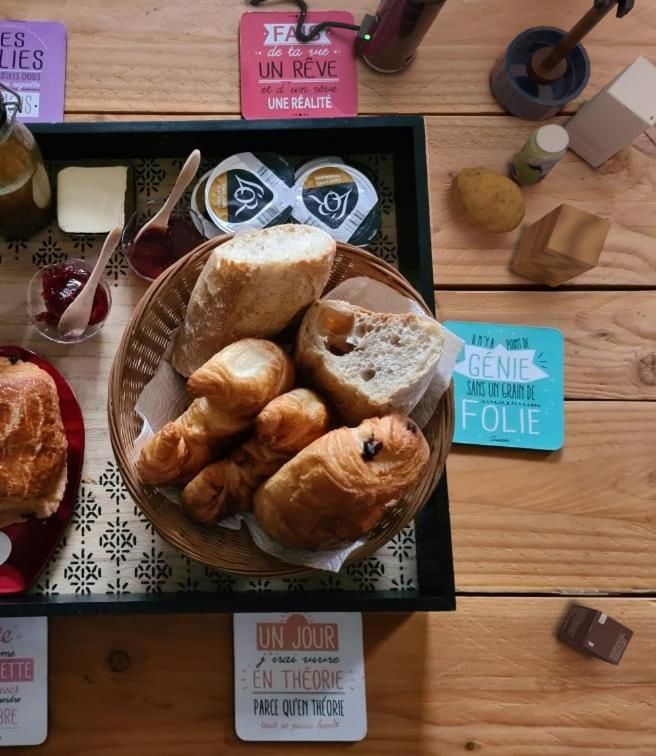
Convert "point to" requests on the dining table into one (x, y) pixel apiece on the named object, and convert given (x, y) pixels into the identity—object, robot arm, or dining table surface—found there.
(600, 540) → the dining table surface
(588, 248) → the wooden block
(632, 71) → the rectangular carton
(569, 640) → the box
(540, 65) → the brown rod with disc
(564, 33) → the bowl
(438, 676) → the dining table surface
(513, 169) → the beverage can
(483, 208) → the potato
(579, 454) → the dining table surface
